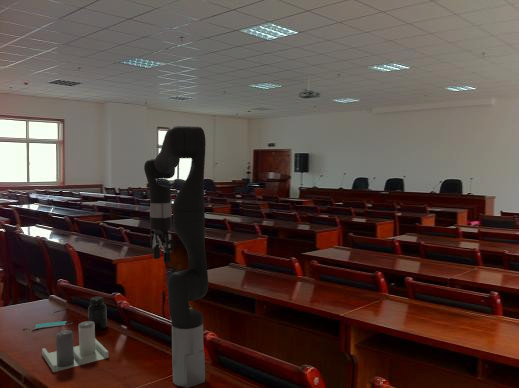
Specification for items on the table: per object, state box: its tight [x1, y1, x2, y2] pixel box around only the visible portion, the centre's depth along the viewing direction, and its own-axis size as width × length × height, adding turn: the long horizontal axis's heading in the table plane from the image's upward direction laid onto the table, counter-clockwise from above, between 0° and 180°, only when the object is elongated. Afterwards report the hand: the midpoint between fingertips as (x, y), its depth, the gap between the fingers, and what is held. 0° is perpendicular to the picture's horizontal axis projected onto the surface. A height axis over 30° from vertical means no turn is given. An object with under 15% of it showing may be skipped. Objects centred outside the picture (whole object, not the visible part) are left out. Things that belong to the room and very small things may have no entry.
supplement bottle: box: [87, 296, 108, 332], centre depth 178 cm, size 7×7×12 cm
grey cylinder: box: [55, 329, 74, 367], centre depth 144 cm, size 5×5×10 cm
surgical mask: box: [22, 308, 79, 332], centre depth 181 cm, size 21×4×10 cm
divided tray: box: [41, 338, 110, 373], centre depth 150 cm, size 16×17×3 cm
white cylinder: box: [78, 320, 96, 356], centre depth 152 cm, size 5×5×10 cm
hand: (161, 260), depth 161 cm, fingers open, 8 cm apart
